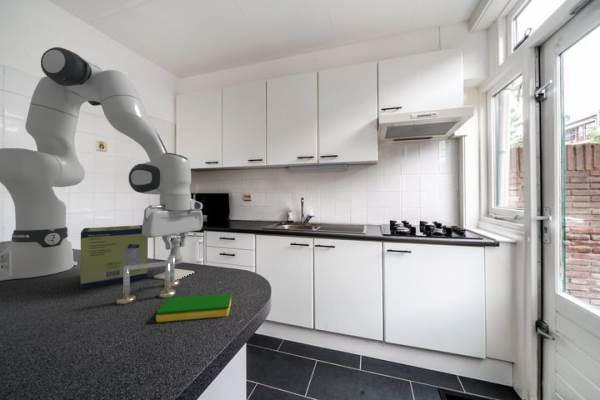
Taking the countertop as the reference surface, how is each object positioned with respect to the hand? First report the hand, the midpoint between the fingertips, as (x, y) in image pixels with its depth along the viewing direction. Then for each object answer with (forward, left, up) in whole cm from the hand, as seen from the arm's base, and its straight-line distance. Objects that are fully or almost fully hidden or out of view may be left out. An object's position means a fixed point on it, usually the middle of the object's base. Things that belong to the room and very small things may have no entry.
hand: (175, 247), depth 74 cm
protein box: (-14, -9, -9) cm, 19 cm away
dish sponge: (+24, -17, -9) cm, 31 cm away
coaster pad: (0, 0, -9) cm, 9 cm away
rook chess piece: (0, 0, -5) cm, 5 cm away
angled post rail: (+8, -13, -9) cm, 17 cm away
